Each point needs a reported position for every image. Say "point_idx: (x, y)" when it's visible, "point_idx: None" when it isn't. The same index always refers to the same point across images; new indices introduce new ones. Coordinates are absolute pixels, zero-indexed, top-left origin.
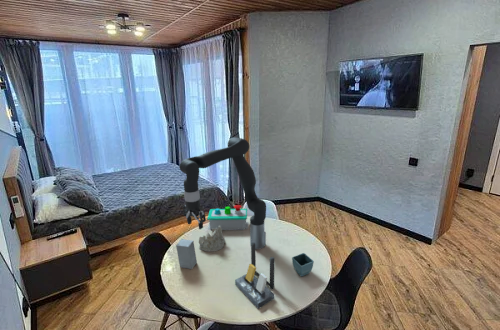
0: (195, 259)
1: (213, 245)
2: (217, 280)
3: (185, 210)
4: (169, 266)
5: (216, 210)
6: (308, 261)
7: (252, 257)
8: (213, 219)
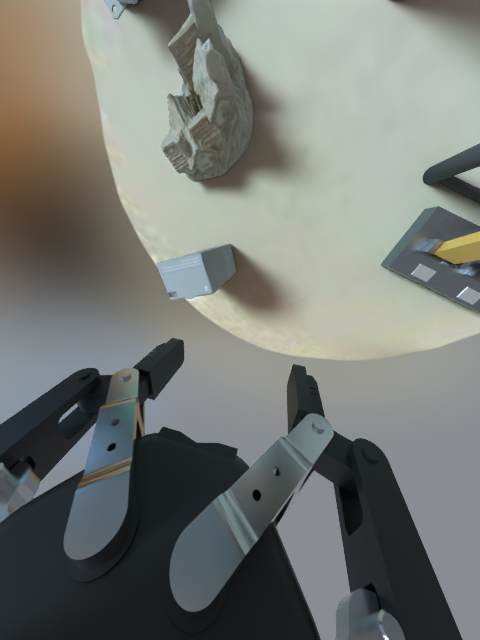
0: (228, 250)
1: (230, 145)
2: (322, 274)
3: (41, 466)
4: None
5: None
6: None
7: None
8: None
